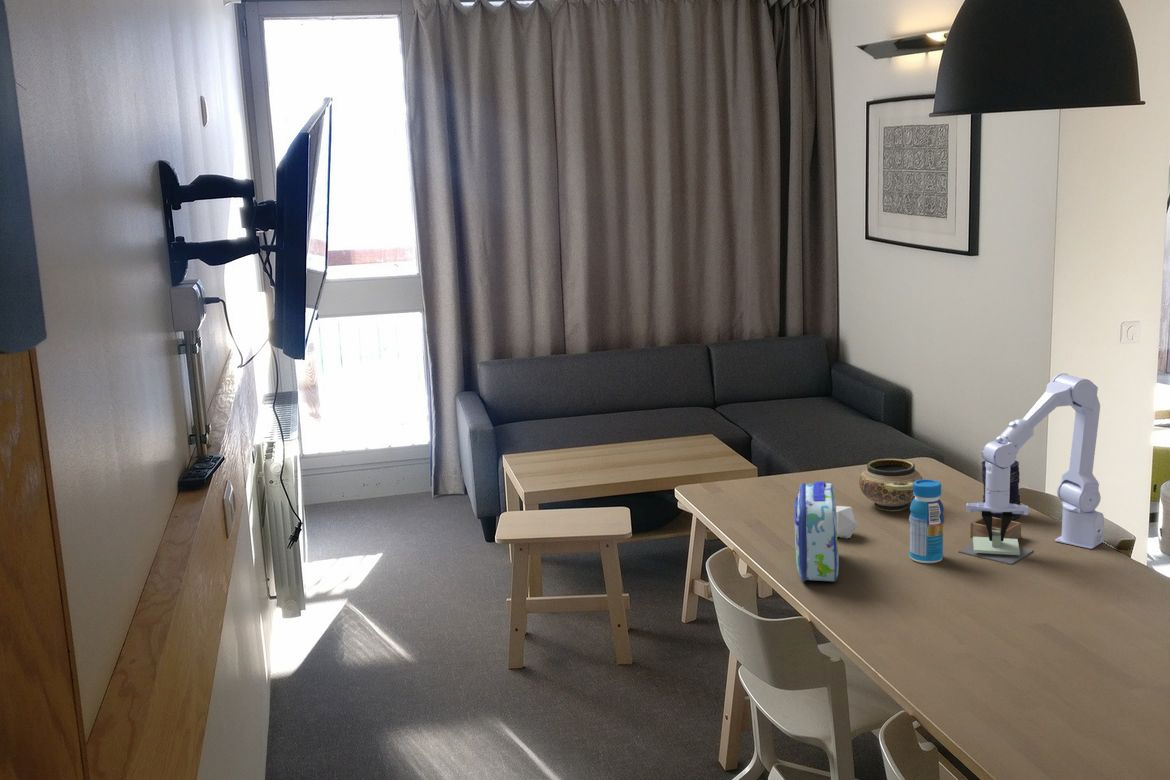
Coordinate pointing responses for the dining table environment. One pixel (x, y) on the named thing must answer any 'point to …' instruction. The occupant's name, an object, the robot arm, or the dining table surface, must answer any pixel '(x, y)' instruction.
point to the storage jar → (1014, 486)
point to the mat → (997, 555)
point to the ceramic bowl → (889, 483)
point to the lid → (996, 545)
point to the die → (845, 521)
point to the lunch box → (816, 532)
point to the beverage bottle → (926, 522)
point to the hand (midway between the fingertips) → (996, 539)
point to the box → (995, 528)
